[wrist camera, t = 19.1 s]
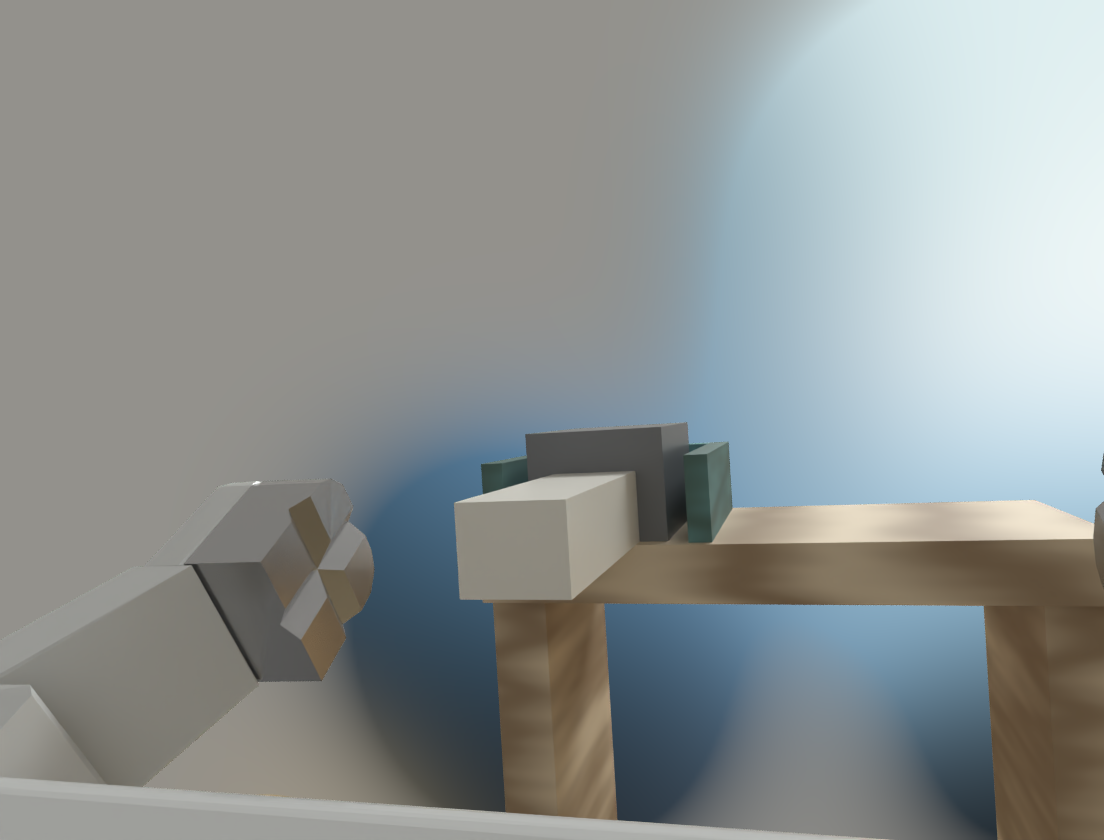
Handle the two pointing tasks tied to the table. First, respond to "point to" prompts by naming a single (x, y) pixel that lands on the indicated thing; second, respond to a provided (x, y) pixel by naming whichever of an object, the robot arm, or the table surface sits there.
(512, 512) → the beige and grey block
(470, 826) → the robot arm
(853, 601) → the brown and teal frame
